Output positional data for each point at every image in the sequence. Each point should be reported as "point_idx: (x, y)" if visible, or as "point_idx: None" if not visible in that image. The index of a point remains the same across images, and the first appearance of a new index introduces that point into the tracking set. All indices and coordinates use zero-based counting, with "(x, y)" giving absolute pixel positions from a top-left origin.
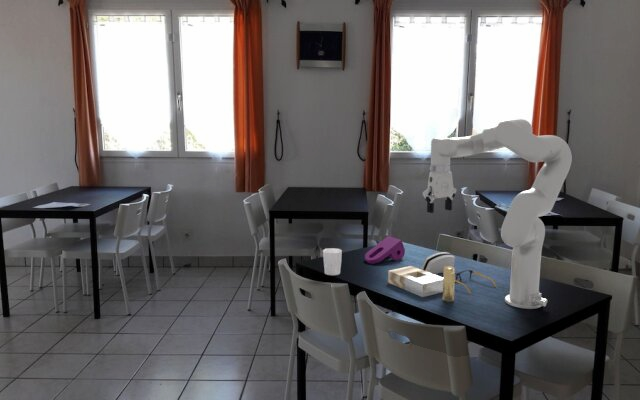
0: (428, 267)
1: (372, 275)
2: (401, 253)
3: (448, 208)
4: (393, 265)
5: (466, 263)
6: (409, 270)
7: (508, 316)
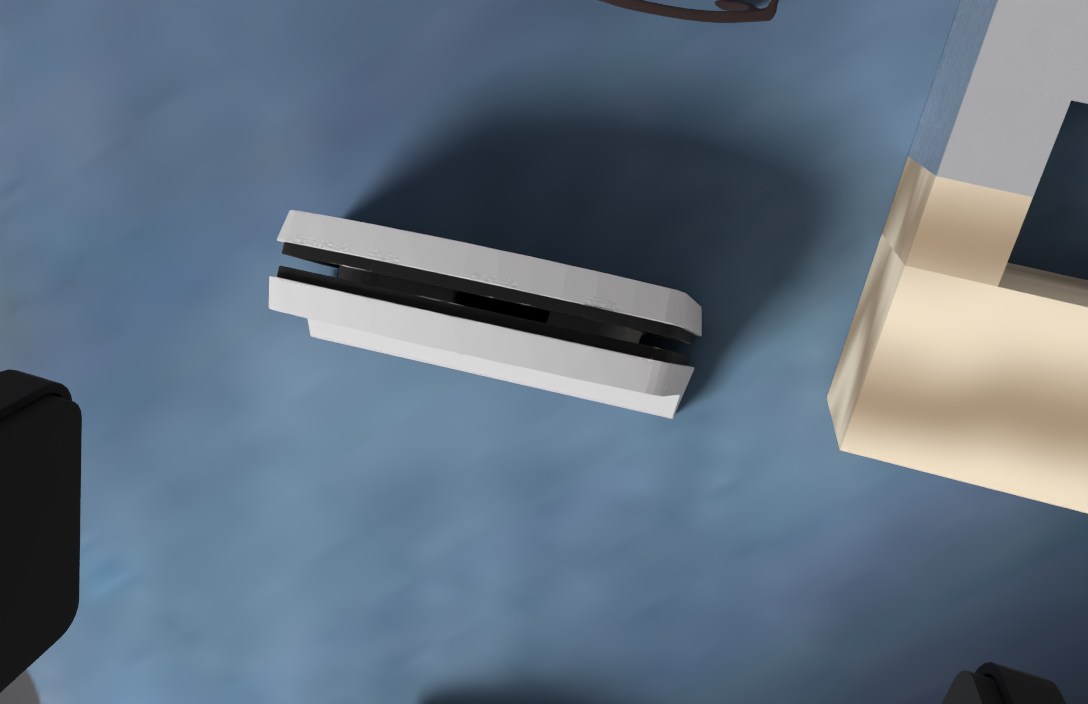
0: (692, 307)
1: None
2: None
3: (37, 506)
4: (614, 686)
5: (70, 240)
6: (1022, 370)
7: None
